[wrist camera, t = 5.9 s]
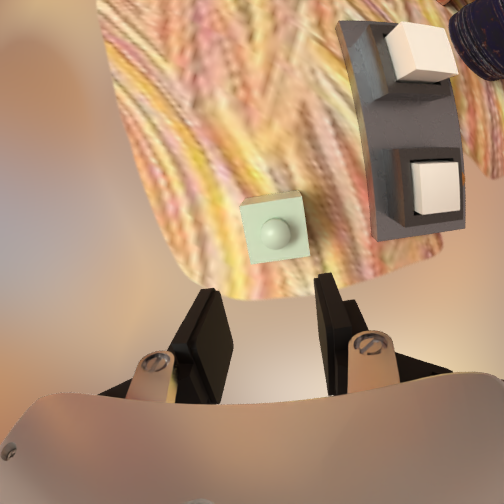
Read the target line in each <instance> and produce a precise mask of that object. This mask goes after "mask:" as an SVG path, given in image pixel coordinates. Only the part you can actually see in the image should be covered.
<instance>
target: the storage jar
mask: <svg viewBox="0 0 504 504" xmlns="http://www.w3.org/2000/svg"><path fill="white" fill-rule="evenodd" d="M449 33H450V37H451V40H452V43H453V45H454V47H455V49H456V51H457V53H458V54H459V56H460V57H461V59H462V60H463V61H464V63H465V64H466V65H467V66H468V67H469V68H470V69H471V70H472V71H473V72H474V73H475V74H477V75H478V76H480V77H481V78H483V79H485V80H489V81H495V80H499V79H504V0H475V1H474V2H472V3H470V4H467V5H466V6H464V7H463V8H462V9H461V10H460V11H459V12H458V13H456V14H454V15H453V16H452V17H451V18H450V20H449Z"/></svg>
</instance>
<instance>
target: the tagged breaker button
mask: <svg viewBox="0 0 504 504" xmlns="http://www.w3.org/2000/svg"><path fill="white" fill-rule="evenodd" d="M410 167H411V178H412V190H413V207H414V211H416V212H418V213H420V214H422V215H425V214H433V213H441V212H449V211H457V210H460V187H459V170H458V162H451V161H442V160H433V159H425V160H410Z"/></svg>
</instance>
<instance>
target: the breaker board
mask: <svg viewBox="0 0 504 504" xmlns="http://www.w3.org/2000/svg"><path fill="white" fill-rule="evenodd" d="M397 25H398V23H388V22H373V21H338V23H337V26H336V28H335V30H336V33H337V36H338V39H339V43H340V46H341V50H342V53H343V57H344V61H345V65H346V69H347V73H348V77H349V81H350V85H351V90H352V94H353V99H354V104H355V109H356V114H357V119H358V124H359V130H360V136H361V142H362V149H363V155H364V163H365V170H366V178H367V187H368V197H369V208H370V221H371V236H372V237H373V238H374V239H375V240H376V241H377V242H379V241H386V240H392V239H399V238H406V237H412V236H419V235H426V234H432V233H439V232H445V231H452V230H457V229H464V228H465V176H464V162H463V151H462V143H461V135H460V128H459V121H458V115H457V110H456V105H455V100H454V95H453V90H452V86H451V82H450V78H447V79H444V80H441V81H439V82H436V83H433V84H419V83H396V80H395V76H394V72H393V68H392V64H391V60H390V57H389V53H388V50H387V47H386V43H385V40H384V38H385V37H386V36H387V35H388V34H389V33H390V32H391V31H392V30H393V29H394V28H395V27H396V26H397ZM425 159H433V160H442V161H451V162H458V170H459V187H460V210H457V211H449V212H441V213H433V214H425V215H422V214H420V213H418V212H416V211H414V207H413V190H412V178H411V167H410V160H425Z"/></svg>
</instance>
